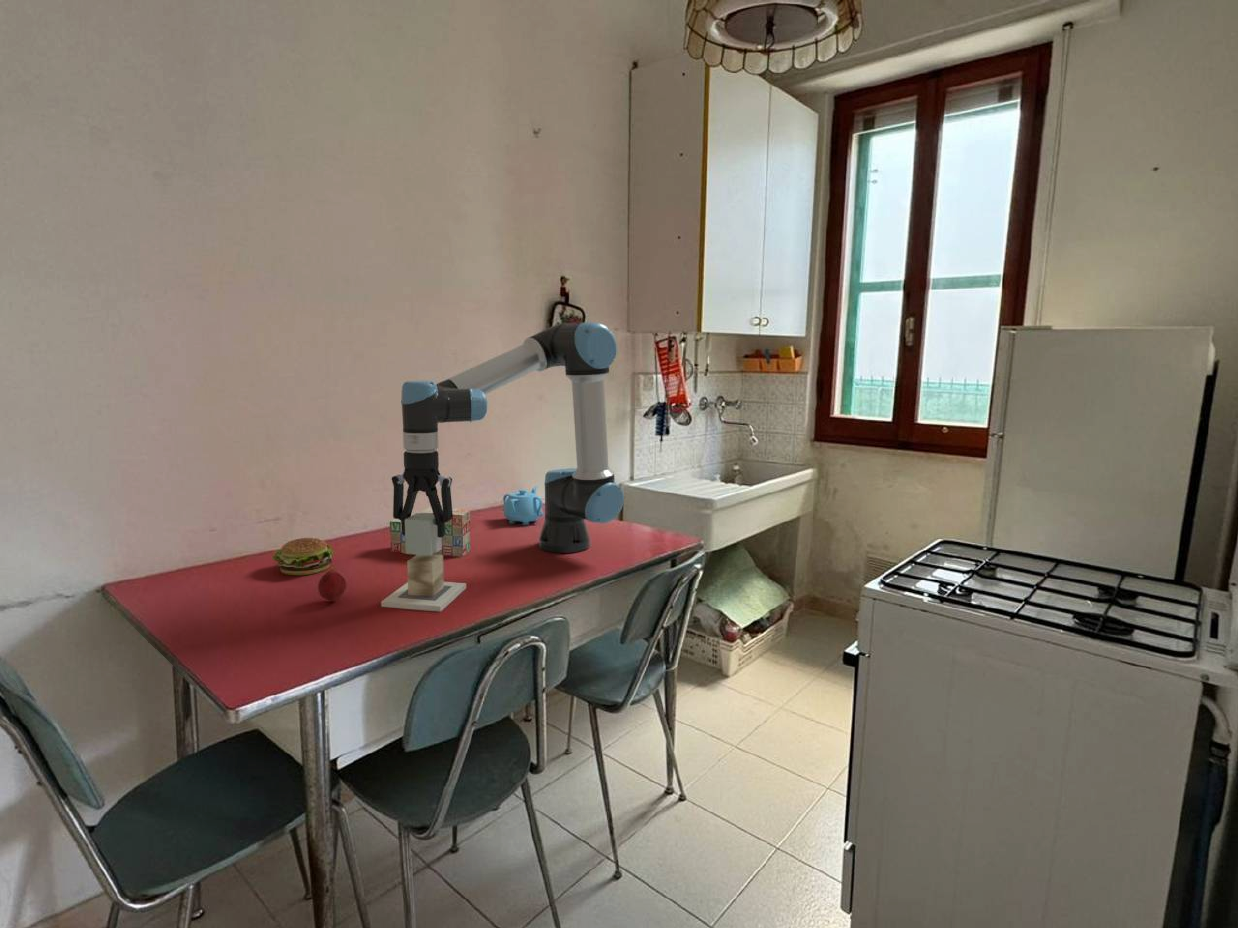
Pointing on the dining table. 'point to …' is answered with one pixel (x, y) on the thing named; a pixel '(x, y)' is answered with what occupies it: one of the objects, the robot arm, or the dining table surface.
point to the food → (303, 556)
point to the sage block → (419, 534)
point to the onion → (332, 585)
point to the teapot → (523, 506)
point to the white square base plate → (424, 598)
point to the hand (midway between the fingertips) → (423, 549)
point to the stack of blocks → (452, 541)
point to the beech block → (425, 575)
